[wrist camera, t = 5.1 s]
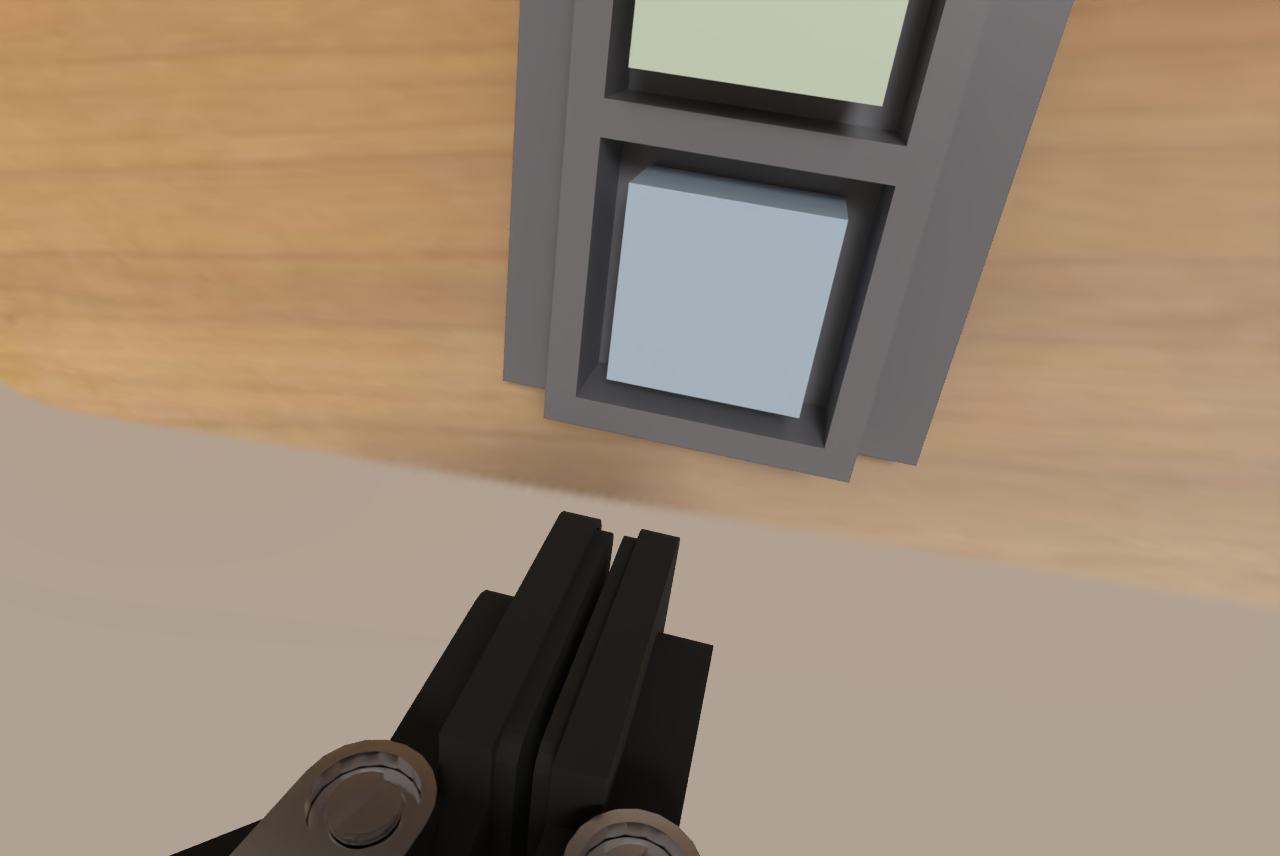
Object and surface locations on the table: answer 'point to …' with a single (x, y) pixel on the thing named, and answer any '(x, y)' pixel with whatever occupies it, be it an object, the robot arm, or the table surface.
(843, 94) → the sage key
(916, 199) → the grey compartment tray
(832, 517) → the table surface
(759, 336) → the blue key
